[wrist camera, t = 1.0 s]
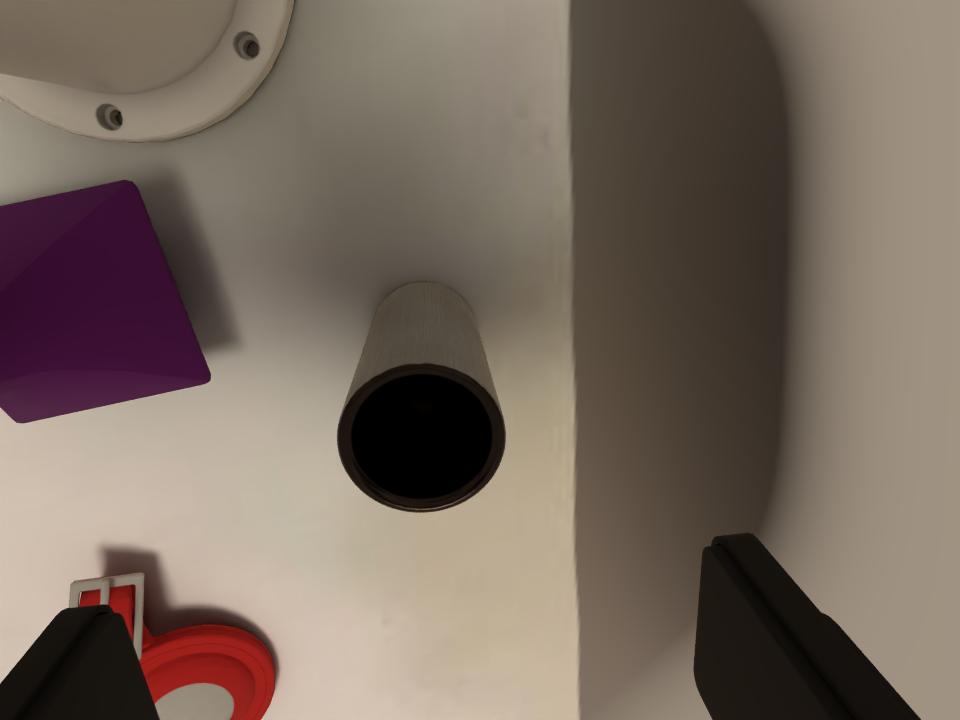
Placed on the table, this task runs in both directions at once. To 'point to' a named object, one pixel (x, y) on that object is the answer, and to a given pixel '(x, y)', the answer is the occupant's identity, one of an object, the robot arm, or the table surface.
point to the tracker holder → (188, 658)
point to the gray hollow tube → (422, 405)
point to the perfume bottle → (88, 306)
